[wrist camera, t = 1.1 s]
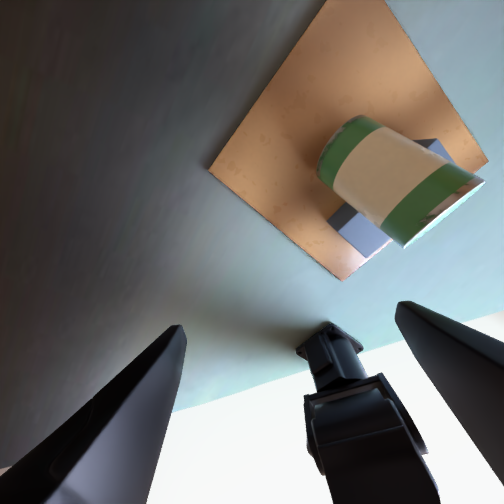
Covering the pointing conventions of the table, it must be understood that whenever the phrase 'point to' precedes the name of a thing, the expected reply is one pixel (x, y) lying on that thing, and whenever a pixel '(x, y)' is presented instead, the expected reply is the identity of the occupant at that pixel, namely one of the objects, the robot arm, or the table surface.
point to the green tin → (393, 179)
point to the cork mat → (335, 122)
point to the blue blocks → (359, 227)
